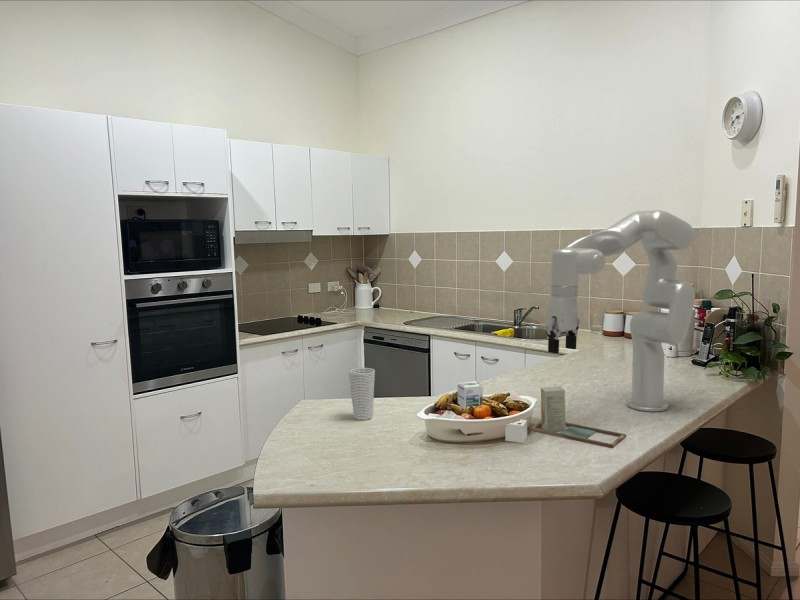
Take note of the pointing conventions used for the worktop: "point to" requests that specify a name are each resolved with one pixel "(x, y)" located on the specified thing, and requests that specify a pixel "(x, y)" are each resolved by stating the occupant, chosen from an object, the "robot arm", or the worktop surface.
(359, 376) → the cup
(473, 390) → the syrup box
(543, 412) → the skincare box
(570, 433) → the wooden frame
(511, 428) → the die
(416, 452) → the worktop surface
